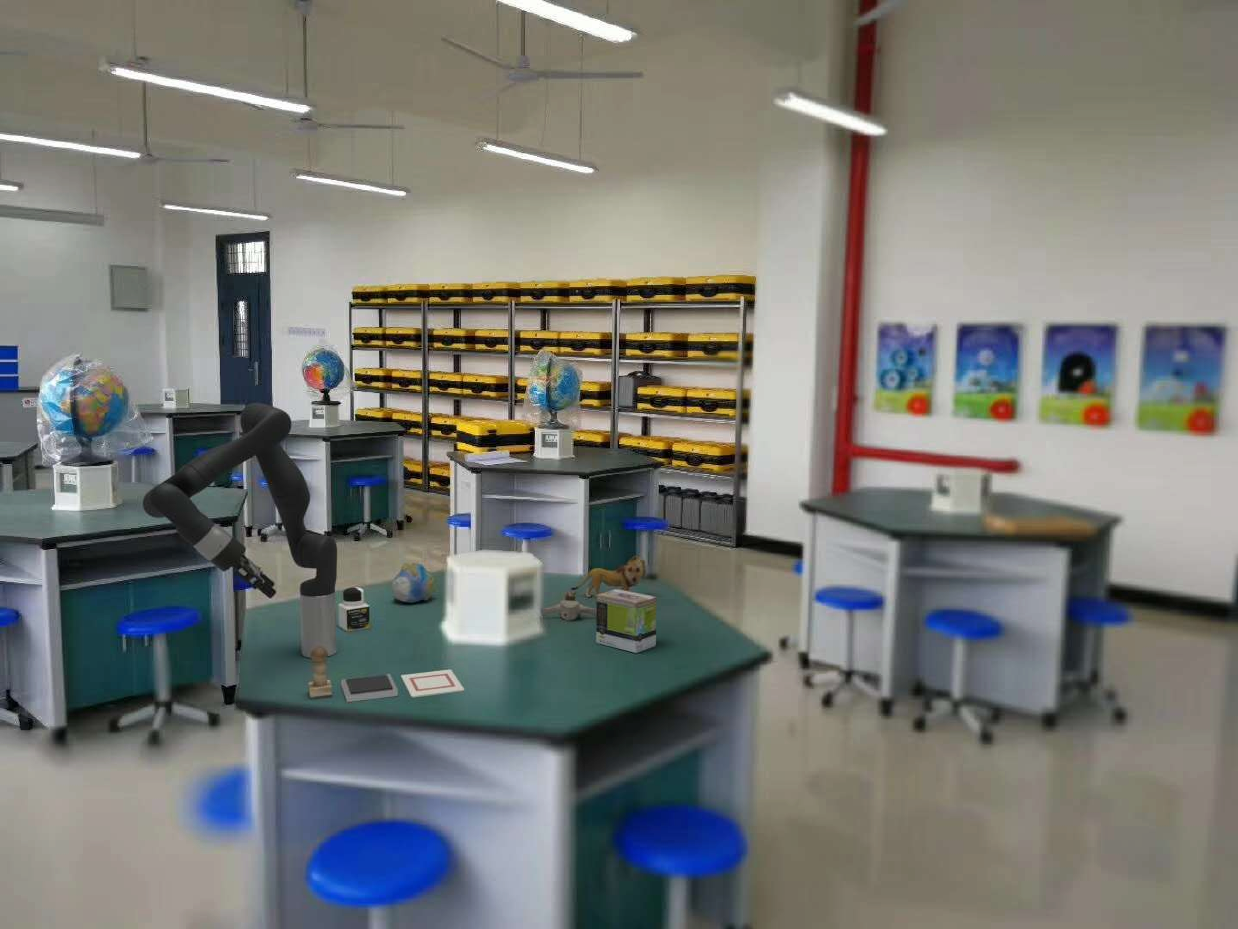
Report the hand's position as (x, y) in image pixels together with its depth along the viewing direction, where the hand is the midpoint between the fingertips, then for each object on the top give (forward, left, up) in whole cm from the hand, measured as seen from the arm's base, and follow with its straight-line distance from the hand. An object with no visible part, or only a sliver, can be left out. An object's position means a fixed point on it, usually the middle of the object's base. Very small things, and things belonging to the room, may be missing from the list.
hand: (272, 591), depth 231 cm
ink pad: (+4, +22, -26) cm, 34 cm away
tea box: (-8, +96, -26) cm, 99 cm away
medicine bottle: (-52, +25, -26) cm, 64 cm away
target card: (+5, +37, -26) cm, 46 cm away
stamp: (+3, +10, -26) cm, 28 cm away
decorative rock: (-77, +47, -26) cm, 94 cm away
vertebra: (-40, +89, -27) cm, 102 cm away
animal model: (-58, +110, -26) cm, 127 cm away
